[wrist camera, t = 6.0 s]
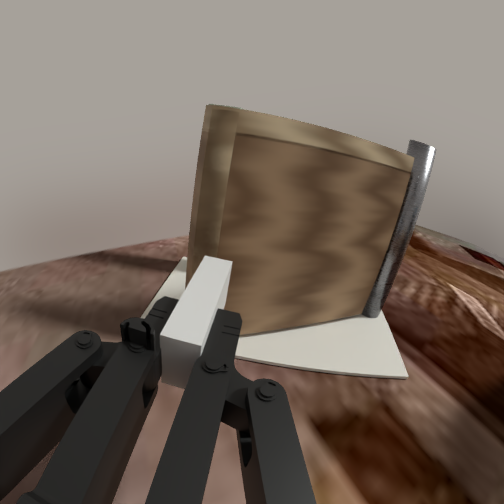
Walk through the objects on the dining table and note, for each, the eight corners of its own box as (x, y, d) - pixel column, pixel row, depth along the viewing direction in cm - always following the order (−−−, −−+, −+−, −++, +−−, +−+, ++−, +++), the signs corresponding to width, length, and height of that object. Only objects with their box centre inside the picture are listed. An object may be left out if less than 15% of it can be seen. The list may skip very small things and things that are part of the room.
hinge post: (374, 307, 32) (428, 147, 24) (380, 321, 29) (441, 150, 21) (353, 304, 32) (405, 139, 24) (358, 318, 29) (417, 140, 21)
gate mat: (373, 296, 34) (374, 294, 34) (407, 378, 21) (408, 376, 21) (183, 258, 34) (183, 256, 34) (133, 331, 22) (133, 328, 22)
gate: (352, 305, 30) (401, 153, 23) (361, 313, 29) (414, 157, 22) (183, 326, 23) (206, 105, 16) (187, 340, 21) (212, 104, 14)
